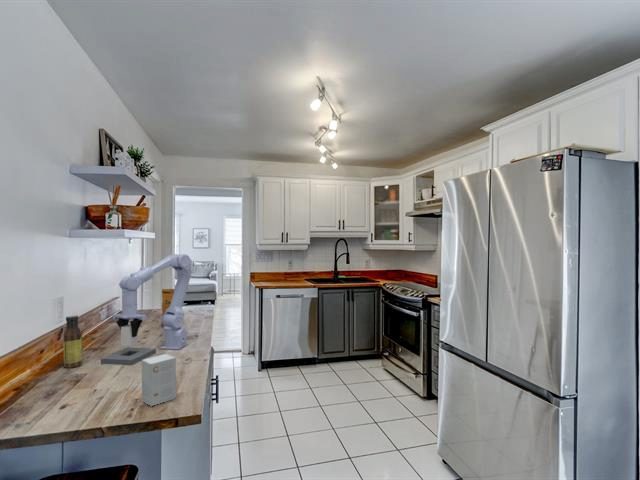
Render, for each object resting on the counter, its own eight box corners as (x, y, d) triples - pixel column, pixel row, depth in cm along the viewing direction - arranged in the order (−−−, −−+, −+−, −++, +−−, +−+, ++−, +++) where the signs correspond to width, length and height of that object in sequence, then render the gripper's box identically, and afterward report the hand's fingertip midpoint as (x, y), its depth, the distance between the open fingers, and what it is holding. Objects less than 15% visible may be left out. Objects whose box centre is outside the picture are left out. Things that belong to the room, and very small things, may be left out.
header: (155, 353, 159) (155, 348, 159) (131, 365, 143) (131, 360, 143) (127, 351, 161) (127, 347, 161) (100, 363, 146) (100, 358, 146)
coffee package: (182, 326, 212) (182, 289, 212) (159, 327, 209) (159, 289, 209) (184, 322, 222) (184, 287, 222) (162, 323, 218) (162, 287, 219)
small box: (166, 393, 116) (166, 353, 117) (176, 398, 112) (176, 357, 112) (141, 401, 110) (141, 359, 110) (150, 407, 106) (150, 363, 106)
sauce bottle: (86, 364, 145) (86, 315, 145) (71, 369, 139) (71, 318, 139) (74, 362, 147) (74, 314, 147) (59, 367, 141) (59, 317, 141)
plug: (138, 342, 155) (138, 324, 155) (129, 346, 149) (129, 327, 150) (129, 342, 155) (129, 323, 156) (120, 346, 150) (120, 326, 150)
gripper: (107, 305, 150) (107, 338, 150) (139, 306, 148) (138, 339, 147) (119, 302, 157) (119, 333, 157) (149, 303, 155) (149, 335, 154)
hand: (129, 336), depth 153 cm, fingers closed on plug, 4 cm apart
